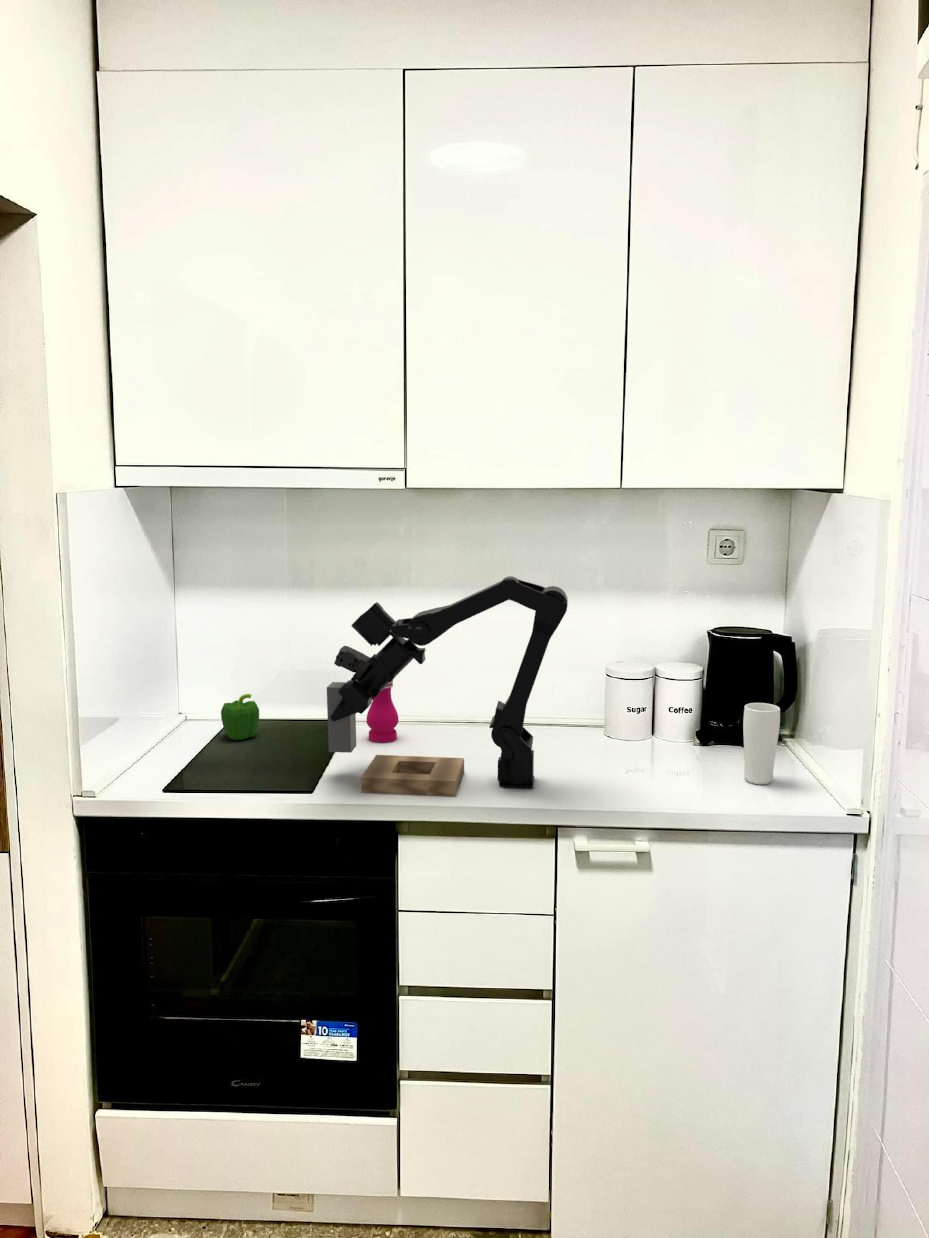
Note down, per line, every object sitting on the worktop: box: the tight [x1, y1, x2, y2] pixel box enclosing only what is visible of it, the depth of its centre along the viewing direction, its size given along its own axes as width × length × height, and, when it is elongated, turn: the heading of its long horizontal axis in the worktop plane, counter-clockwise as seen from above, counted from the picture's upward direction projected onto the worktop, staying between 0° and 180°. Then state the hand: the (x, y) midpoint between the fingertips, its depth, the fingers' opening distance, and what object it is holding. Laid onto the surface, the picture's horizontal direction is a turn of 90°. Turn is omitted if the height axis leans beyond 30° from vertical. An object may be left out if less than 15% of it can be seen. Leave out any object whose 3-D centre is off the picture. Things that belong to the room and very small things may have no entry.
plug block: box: [326, 681, 357, 753], centre depth 191 cm, size 4×4×13 cm
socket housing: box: [360, 754, 465, 797], centre depth 189 cm, size 18×14×3 cm
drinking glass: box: [742, 702, 781, 785], centre depth 189 cm, size 7×7×15 cm
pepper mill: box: [365, 679, 399, 744], centre depth 216 cm, size 7×7×20 cm
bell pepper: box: [220, 693, 260, 741], centre depth 218 cm, size 8×8×10 cm
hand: (334, 716), depth 191 cm, fingers closed on plug block, 4 cm apart
